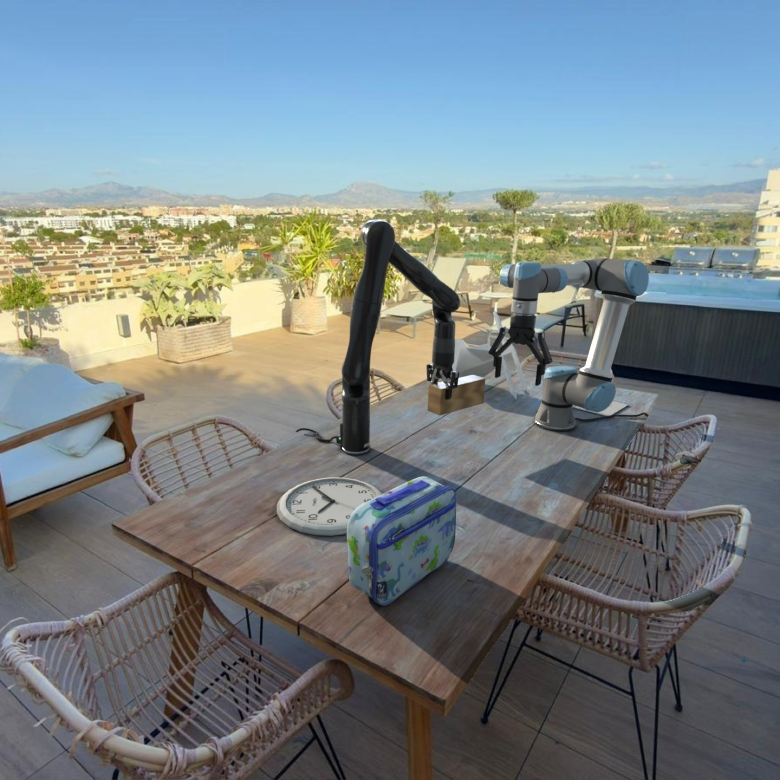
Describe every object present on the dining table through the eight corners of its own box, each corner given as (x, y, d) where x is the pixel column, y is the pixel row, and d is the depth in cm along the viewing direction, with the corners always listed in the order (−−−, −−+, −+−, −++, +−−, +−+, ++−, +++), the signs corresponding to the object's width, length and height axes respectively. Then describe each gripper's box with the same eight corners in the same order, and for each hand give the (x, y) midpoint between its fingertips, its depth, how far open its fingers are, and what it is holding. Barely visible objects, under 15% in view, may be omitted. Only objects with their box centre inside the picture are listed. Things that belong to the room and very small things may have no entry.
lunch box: (376, 619, 101) (377, 524, 95) (340, 592, 109) (339, 502, 102) (459, 562, 119) (465, 479, 113) (424, 542, 126) (427, 463, 120)
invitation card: (608, 416, 214) (573, 407, 224) (608, 416, 214) (573, 408, 224) (628, 404, 229) (594, 396, 238) (628, 405, 229) (594, 397, 238)
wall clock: (392, 527, 129) (268, 531, 127) (391, 533, 130) (269, 537, 127) (383, 473, 158) (282, 475, 155) (383, 478, 158) (282, 480, 156)
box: (471, 399, 197) (472, 374, 194) (483, 403, 193) (485, 378, 190) (427, 410, 184) (428, 384, 181) (439, 415, 179) (441, 389, 176)
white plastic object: (461, 429, 252) (437, 405, 227) (444, 352, 274) (420, 323, 250) (535, 404, 240) (518, 377, 215) (510, 326, 262) (492, 293, 237)
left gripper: (421, 347, 180) (419, 393, 185) (450, 355, 169) (448, 404, 174) (436, 344, 184) (434, 389, 189) (466, 352, 174) (463, 400, 179)
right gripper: (481, 311, 164) (476, 376, 170) (559, 320, 149) (551, 391, 156) (491, 308, 169) (487, 371, 176) (568, 317, 155) (560, 385, 161)
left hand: (441, 396), depth 182 cm, fingers closed on box, 6 cm apart
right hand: (517, 380), depth 166 cm, fingers open, 13 cm apart
